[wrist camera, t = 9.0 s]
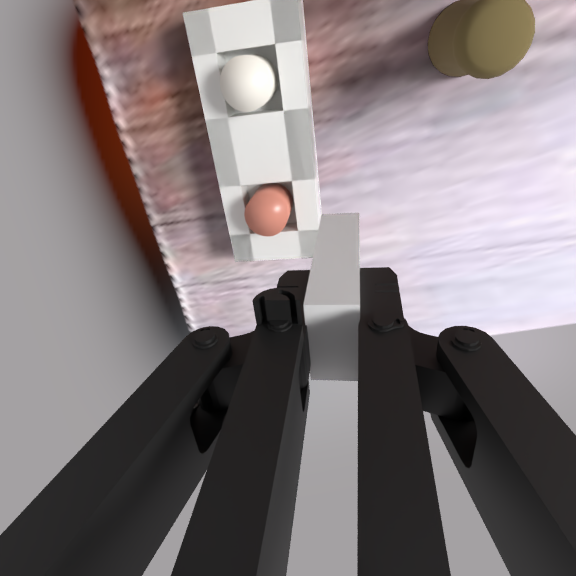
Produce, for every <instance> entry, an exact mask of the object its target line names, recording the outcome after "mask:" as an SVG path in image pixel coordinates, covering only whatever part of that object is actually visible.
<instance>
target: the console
mask: <svg viewBox="0 0 576 576" xmlns="http://www.w3.org/2000/svg"><path fill="white" fill-rule="evenodd" d="M183 17H184V22H185V26H186V31H187V36H188V41H189V45H190V50H191V55H192V60H193V64H194V69H195V74H196V79H197V83H198V88H199V93H200V97H201V102H202V107H203V112H204V116H205V121H206V126H207V131H208V135H209V140H210V145H211V150H212V154H213V159H214V164H215V169H216V173H217V178H218V183H219V188H220V192H221V197H222V202H223V207H224V211H225V216H226V221H227V226H228V230H229V235H230V240H231V245H232V249H233V254H234V259H235V262H240V261H259V260H279V259H299V258H313V254H314V249H315V244H316V239H317V234H318V230H319V225H320V220H321V215H322V212H321V201H320V189H319V178H318V167H317V156H316V144H315V133H314V122H313V110H312V99H311V88H310V77H309V65H308V54H307V43H306V31H305V20H304V9H303V0H254V1H248V2H242V3H236V4H231V5H225V6H219V7H213V8H208V9H202V10H196V11H190V12H184V13H183ZM251 54H257V55H261V56H264V57H265V58H267V59H268V60H269V61H270V62H271V63H272V64H273V66H274V67H275V69H276V72H277V76H278V87H277V91H276V93H275V95H274V97H273V98H272V99H271V100H270V101H269V102H268V103H266V104H264V105H263V106H261V107H260V108H258V109H256V110H254V111H251V112H242V111H238V110H236V109H234V108H233V107H231V106H230V105H229V104H228V103H227V101H226V100H225V98H224V97H223V95H222V92H221V88H220V76H221V72H222V69H223V67H224V66H225V64H226V63H227V62H228V61H229V60H230V59H232V58H234V57H236V56H240V55H251ZM265 183H279V184H281V185H283V186H285V187H286V188H287V189H288V190H289V192H290V193H291V195H292V198H293V207H292V210H291V213H290V215H289V218H288V221H287V223H286V226H285V227H284V229H283V230H282V231H281V232H280V233H278V234H277V235H274V236H261V235H258V234H256V233H255V232H253V231H252V230H251V229H250V228H249V226H248V225H247V223H246V221H245V216H244V212H245V208H246V205H247V204H248V202H249V201H250V199H251V198H252V196H253V195H254V193H255V192H256V190H257V189H258V188H259V187H260V186H261V185H263V184H265Z"/></svg>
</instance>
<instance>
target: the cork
mask: <svg viewBox="0 0 576 576" xmlns="http://www.w3.org/2000/svg"><path fill="white" fill-rule="evenodd" d="M534 33H535V18H534V15H533V12H532V9H531V7H530V6H529V5H528V3H527V2H526V1H525V0H460V1H456V2H454V3H453V4H451V5H450V6H448V7H447V8H445V9H444V10H443V11H442V12H441V14H440V15H439V16H438V17H437V18H436V20H435V22H434V24H433V26H432V28H431V30H430V34H429V39H428V53H429V57H430V59H431V61H432V64H433V65H434V66H435V67H436V69H437V70H438V71H439V72H441V73H443V74H445V75H448V76H454V77H461V76H464V75H470V76H473V77H475V78H481V79H490V78H494V77H497V76H501V75H502V74H504V73H506V72H507V71H509V70H511V69H512V68H514V67H515V66H516V65H517V64H518V63H519V62H520V61H521V60H522V59H523V58H524V56H525V54H526V53H527V51H528V49H529V48H530V46H531V43H532V40H533V37H534Z"/></svg>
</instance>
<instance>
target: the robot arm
mask: <svg viewBox="0 0 576 576" xmlns="http://www.w3.org/2000/svg"><path fill="white" fill-rule="evenodd" d="M253 306H254V312H255V317H256V323H257V326H256V329H255V331H253V332H250V333H247V334H244V335H239V336H235V337H230V338H229V333H228V332H227V331H226V330H225V329H223V328H220V327H213V326H209V327H204V328H200V329H198V330H195V331H193V332H191V333H190V334H189V335H188V336H186V337H185V338H184V339H183V340H182V342H181V343H180V344H179V345H178V346H177V347H176V348H175V349H174V350H173V351H172V352H171V353H170V354H169V355H168V357H167V358H166V359H165V360H164V361H163V362H162V363H161V364H160V365H159V366H158V367H157V368H156V369H155V371H154V372H153V373H152V374H151V375H150V376H149V377H148V378H147V379H146V380H145V381H144V382H143V383H142V384H141V385H140V387H139V388H138V389H137V390H136V391H135V392H134V393H133V394H132V395H131V396H130V397H129V398H128V399H127V400H126V401H125V403H124V404H123V405H122V406H121V407H120V408H119V409H118V410H117V411H116V412H115V413H114V414H113V415H112V417H111V418H110V419H109V420H108V421H107V422H106V423H105V424H104V425H103V426H102V427H101V428H100V429H99V430H98V432H97V433H96V434H95V435H94V436H93V437H92V438H91V439H90V440H89V441H88V442H87V443H86V444H85V446H83V448H82V449H81V450H80V451H79V452H78V453H77V454H76V455H75V456H74V457H73V458H72V459H71V460H70V462H69V463H67V465H66V466H65V467H64V468H63V469H62V470H61V471H60V472H59V473H58V474H57V475H56V476H55V477H54V478H53V480H52V481H51V482H50V483H49V484H48V485H47V486H46V487H45V488H44V489H43V490H42V491H41V492H40V493H39V495H38V496H37V497H36V498H35V499H34V500H33V501H32V502H31V503H30V504H29V505H28V506H27V507H26V508H25V510H24V511H23V512H22V513H21V514H20V515H19V516H18V517H17V518H16V519H15V520H14V521H13V522H12V524H11V525H10V526H9V527H8V528H7V529H6V530H5V531H4V532H3V533H2V534H1V535H0V576H142V575H143V573H144V571H145V570H146V568H147V566H148V565H149V563H150V561H151V560H152V558H153V557H154V555H155V553H156V551H157V550H158V549H159V547H160V545H161V544H162V542H163V540H164V539H165V537H166V535H167V534H168V532H169V531H170V529H171V527H172V526H173V524H174V522H175V521H176V519H177V518H178V516H179V514H180V513H181V511H182V509H183V508H184V506H185V504H186V503H187V501H188V500H189V498H190V496H191V495H192V493H193V491H194V490H195V488H196V487H197V485H198V483H199V482H200V480H201V478H202V477H203V475H204V473H205V472H206V470H207V472H206V475H205V478H204V481H203V483H202V487H201V489H200V493H199V495H198V498H197V501H196V504H195V507H194V510H193V513H192V516H191V518H190V521H189V525H188V527H187V530H186V533H185V536H184V539H183V542H182V545H181V548H180V551H179V554H178V556H177V559H176V563H175V565H174V568H173V571H172V574H171V576H286V572H287V564H288V557H289V549H290V541H291V533H292V526H293V518H294V510H295V502H296V495H297V486H298V479H299V472H300V464H301V456H302V449H303V440H304V433H305V425H306V418H307V410H308V402H309V394H310V390H309V381H308V379H309V373H310V376H311V380H343V381H358V576H451V574H450V568H449V563H448V556H447V551H446V546H445V539H444V533H443V527H442V521H441V515H440V509H439V503H438V497H437V491H436V485H435V480H434V474H433V468H432V462H431V456H430V450H429V444H428V438H427V432H426V427H425V421H424V415H423V411H426V412H429V413H430V414H431V418H432V420H433V423H434V424H435V426H436V428H437V430H438V432H439V434H440V436H441V438H442V440H443V442H444V444H445V446H446V448H447V450H448V452H449V454H450V456H451V458H452V460H453V462H454V464H455V466H456V468H457V470H458V472H459V474H460V476H461V478H462V480H463V482H464V484H465V486H466V488H467V490H468V492H469V494H470V496H471V498H472V500H473V502H474V504H475V505H476V508H477V510H478V511H479V514H480V516H481V518H482V519H483V522H484V524H485V526H486V528H487V529H488V531H489V533H490V535H491V537H492V539H493V541H494V543H495V545H496V547H497V549H498V551H499V553H500V555H501V557H502V559H503V561H504V563H505V565H506V567H507V569H508V571H509V573H510V575H511V576H576V435H575V434H574V433H573V432H572V431H571V429H570V428H569V427H568V426H567V425H566V424H565V423H564V421H563V420H562V419H561V418H560V417H559V416H558V414H557V413H556V412H555V411H554V410H553V408H552V407H551V406H550V405H549V404H548V403H547V401H546V400H545V399H544V398H543V397H542V396H541V394H540V393H539V392H538V391H537V390H536V389H535V387H534V386H533V385H532V384H531V383H530V382H529V380H528V379H527V378H526V377H525V376H524V374H523V373H522V372H521V371H520V370H519V369H518V367H517V366H516V365H515V364H514V363H513V362H512V360H511V359H510V358H509V357H508V356H507V355H506V353H505V352H504V351H503V350H502V349H501V348H500V347H499V345H498V344H497V343H496V342H495V340H494V339H493V338H492V337H491V336H489V335H488V334H487V333H486V332H484V331H481V330H479V329H477V328H473V327H468V326H453V327H450V328H446V329H445V330H443V331H442V332H441V333H440V334H439V337H435V336H431V335H427V334H423V333H420V332H418V331H416V330H414V329H412V328H411V327H410V326H408V323H407V321H406V319H404V317H403V310H402V304H401V298H400V292H399V286H398V280H397V275H396V274H395V273H394V272H393V271H392V270H391V269H390V268H389V267H385V268H360V241H359V213H343V214H322V215H321V220H320V225H319V230H318V234H317V239H316V244H315V249H314V254H313V259H312V264H311V269H310V270H293V271H287V272H286V273H284V274H283V275H282V276H281V277H280V278H279V281H278V284H277V288H273V289H269V290H266V291H263V292H261V293H260V294H258V295H256V297H255V298H254V299H253Z"/></svg>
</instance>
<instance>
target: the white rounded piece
mask: <svg viewBox="0 0 576 576" xmlns="http://www.w3.org/2000/svg"><path fill="white" fill-rule="evenodd" d="M277 87H278V76H277V72H276V69H275V67H274V66H273V64H272V63H271V62H270V61H269V60H268V59H267V58H265V57H264V56H261V55H257V54H251V55H240V56H236V57H234V58H232V59H230V60H229V61H228V62H227V63H226V64H225V66H224V67H223V69H222V72H221V76H220V88H221V92H222V95H223V97H224V98H225V100H226V101H227V103H228V104H229V105H230V106H231V107H233V108H234V109H236V110H238V111H242V112H251V111H254V110H256V109H258V108H260V107H261V106H263V105H264V104H266V103H268V102H269V101H270V100H271V99H272V98H273V97H274V95H275V93H276V91H277Z"/></svg>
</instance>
